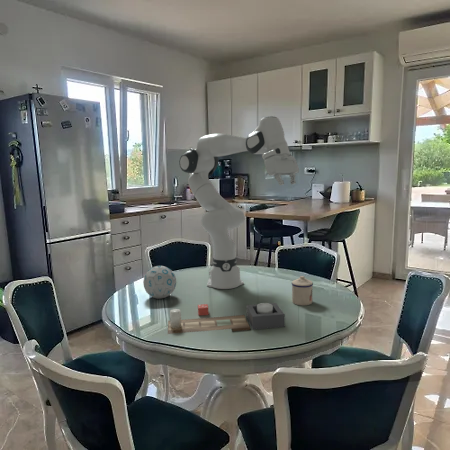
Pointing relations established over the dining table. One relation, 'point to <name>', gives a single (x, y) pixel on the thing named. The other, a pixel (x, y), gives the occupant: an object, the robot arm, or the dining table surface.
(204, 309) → the die
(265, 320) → the dome housing
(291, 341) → the dining table surface
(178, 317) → the pawn
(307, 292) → the teacup with lid
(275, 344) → the dining table surface
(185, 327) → the board
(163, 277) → the puzzle ball
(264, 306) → the push dome
